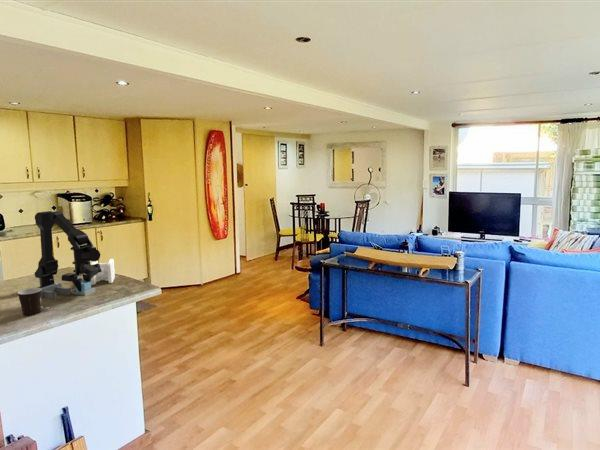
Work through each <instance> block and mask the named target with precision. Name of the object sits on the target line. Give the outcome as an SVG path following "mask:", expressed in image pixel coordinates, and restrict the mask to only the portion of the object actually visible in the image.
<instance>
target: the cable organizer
mask: <svg viewBox="0 0 600 450" xmlns="http://www.w3.org/2000/svg"><path fill="white" fill-rule="evenodd" d="M114 260H115V259H114V258H110V259H109V260H108V262H99V260H98V261H95V262H94V261H91V262H90V264H91V265H95V264H97V263H98V264H100V267H101V272H99V273H97V275H95V276H93V277H92V278H91V281H90V282H91V286H95V285H96V284H97V282H98V283H100V281H105V282H107V281H108V284H112V283H113V282H114V280H115V278H116V272H115V270H116V269H115V261H114Z"/></svg>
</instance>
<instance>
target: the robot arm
mask: <svg viewBox="0 0 600 450" xmlns="http://www.w3.org/2000/svg"><path fill="white" fill-rule="evenodd" d="M34 220H35V225H36V226H37V227H38V229H39V231H40V232H39V233H40V248H41V249H40V251H41V252H40V253H41V257H40V259H39V261H38V263H37V269H36V270H35V272H34V273H33V274H34V277H35V278H38V280H39V286H38V287H36V288H43V287H46V286H49V285H52V284H54V283H55V278H54V276H55V275H57V274H58V270H59V260H58V259H56V258H55V257H54V251H53V233H52V231H53V230H52V229H53V227H54V226H55V224H56V225H57V226H58V227H59V228H60V229H61V231H63V232H64V234H65V235H66V236H67V241H68V242H69V244H70V245H71V247H70V251H72V252H73V261H72V265H74V270H73V271H72V272H67V273H63V274H62V275H61V276H60V277H61V278H60V279H61V281H64V282H69V283H70V282H72V283H73V285H74V287H75V286H76V288H77V289H78V291H79V292H81V281H82V280H85V281H87V282H91V278H92V277H93V276H95V275H97V273H99V272H101V267H100V264H98V263H99V260H100V258H101V251H99V250H98V249H97V247H96V246H94V244H93V242H92V241H91V240H90V237H89V235H88V233H85V231H83V230H81V229H78V228H77V227H75V225H73V224H72V223H71V222H70V221H69V219H68V218H67V217H66V216H65V215H64V213H63V212H62V211H61V210H60V211H51V210H47V211H41V212H37V213H36V214H35V215H34ZM93 261H94V262H95V261H98V263H97V264H95V265H91V262H93ZM81 276H82V278H81Z"/></svg>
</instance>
